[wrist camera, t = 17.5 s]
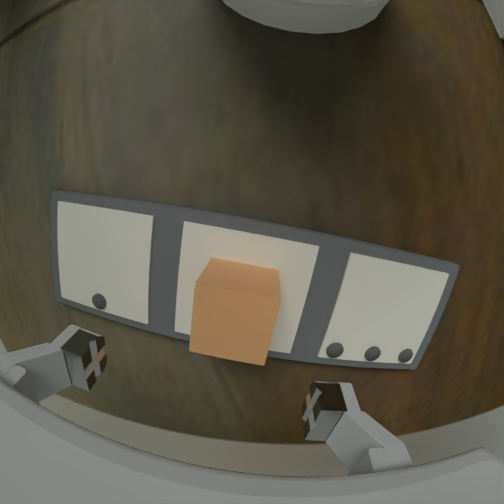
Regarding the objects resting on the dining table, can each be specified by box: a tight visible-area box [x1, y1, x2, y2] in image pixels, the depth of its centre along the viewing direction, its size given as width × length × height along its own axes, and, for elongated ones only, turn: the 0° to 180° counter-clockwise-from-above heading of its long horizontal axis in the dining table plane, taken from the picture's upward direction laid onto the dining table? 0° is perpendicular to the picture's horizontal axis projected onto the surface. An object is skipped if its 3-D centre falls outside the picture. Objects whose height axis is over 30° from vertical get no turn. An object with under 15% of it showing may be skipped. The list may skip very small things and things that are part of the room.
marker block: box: [189, 257, 281, 366], centre depth 15 cm, size 4×4×4 cm
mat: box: [50, 189, 460, 369], centre depth 18 cm, size 30×9×1 cm, turn 80°
